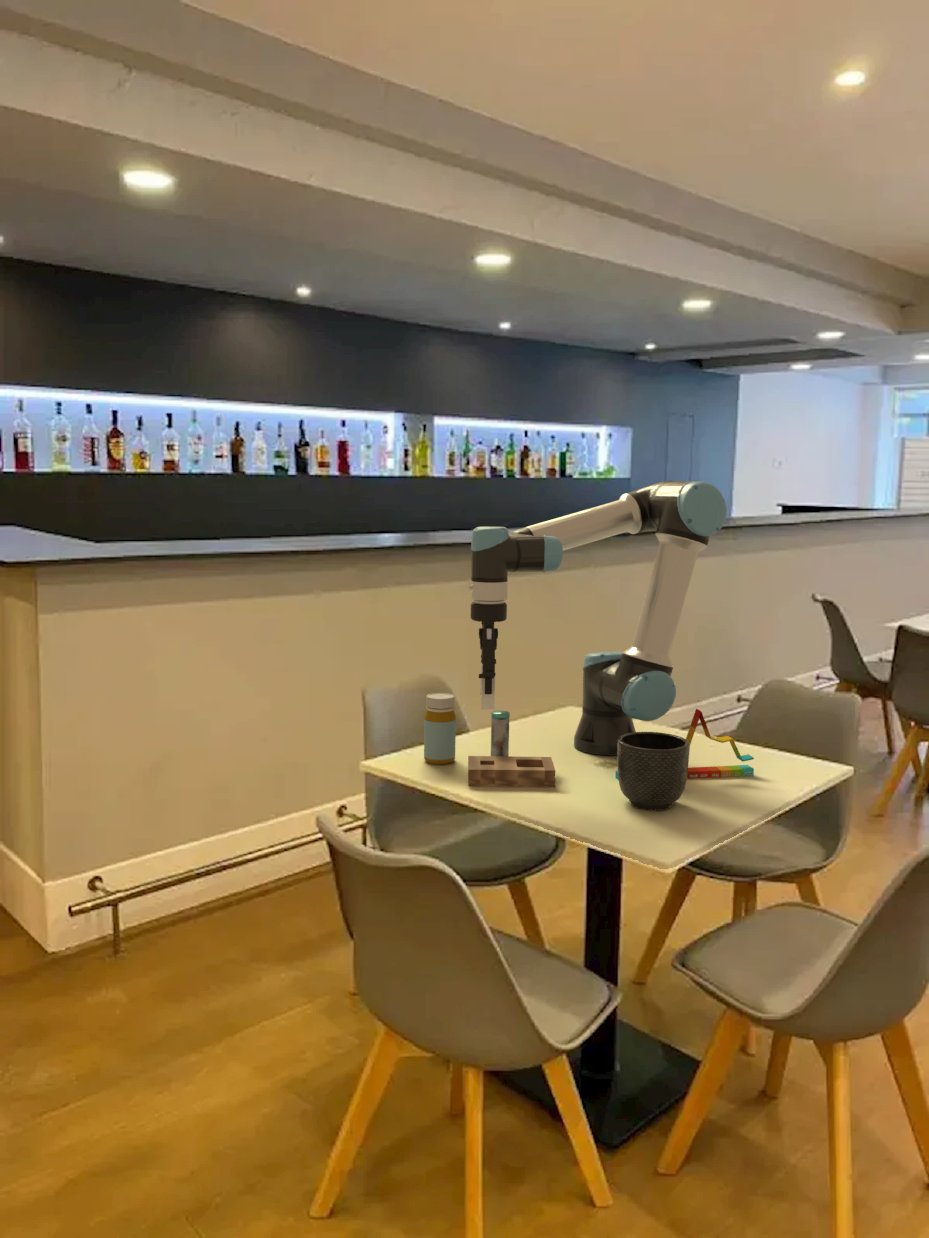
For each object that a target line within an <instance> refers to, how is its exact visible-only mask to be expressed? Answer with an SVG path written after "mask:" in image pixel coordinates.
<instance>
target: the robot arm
mask: <svg viewBox="0 0 929 1238" xmlns="http://www.w3.org/2000/svg"><path fill="white" fill-rule="evenodd" d="M727 512H728V511H727V502H726V500H725V498H724V496H723V494H722V492H721V491H720V490H719V489H718V487H717V486H715V485H714V484H712V483H709V482H705V481H699V480H695V479H694V480H682V481H681V480H678V481H677V480H663V481H660V482H656V483H653V484H650V485H647V486H645V487H642V488H639V489H636V490H635V489H634V490H633V491H630V492H627V493H623V494H621V495H620V496H619V499H618V500H615V501H611V502H608V503H604V504H601V505H598V506H594V507H590V508H586V509H583V510H580V511H577V512H572V513H568V514H566V515H562V516H559V517H556V518H553V519H550V520H549V519H548V520H546V521H545V520H544V521H542V522H538V523H535V524H532V525H528V526H525V527H522V528H518V529H515V530H511V531H509V528H507V527H505V526H477V527H475V528H474V529H473V530H472V534H471V536H472V537H471V545H470V551H471V552H470V554H471V555H470V556H471V557H470V558H471V559H470V563H471V567H470V568H471V572H470V574H471V578H470V580H471V581H470V583H471V584H469V585H468V586H467V588H468V590H470V598H471V600H473V601H471V603H470V619H471V620H472V621H473V622H478V623H479V622H481V627H479V628H478V639H479V649H480V650H481V655H480V658H481V659H480V663H481V664H480V673H479V674H478V679H480V695H481V698H480V701H481V703H480V705H481V706H480V710H489V711H490V710H491V711H495V709H496V708H495V704H496V703H495V702H496V701H495V700H496V698H495V697H496V691H495V690H496V674H497V673H496V664H497V659H496V650H497V648H498V639H499V630H498V627H495V623H497V622H498V623H501V622H505V621H506V620H507V615H508V604H507V602H505V601H506V600H508V582H509V581H508V575H509V574H508V573H521V572H522V573H526V572H527V573H530V572H532V573H533V572H534V573H536V572H538V573H539V572H540V573H545V572H555V571H557V570H558V569H559V568H560V567H561V565H562V562H563V559H564V558H563V557H564V556H563V555H564V552H565V551H567V550H569V549H573V548H578V547H580V546H584V545H587V544H590V543H593V542H594V543H595V542H596V541H600V540H603V539H607V538H609V537H613V536H617V535H621V534H624V533H629V534H631V535H635V534H636V535H637V534H639V533H644V532H652V531H653V532H655V537H656V539H657V540H658V542H659V546H658V550H657V553H656V556H655V560H654V564H653V568H652V570H651V571H652V572H651V575H650V578H649V581H648V586H647V589H646V592H645V596H644V599H643V600H644V601H643V604H642V608H641V611H640V614H639V618H638V622H637V626H636V629H635V632H634V636H633V640H632V642H631V646H630V647H628V648H627V649H626V650H623V651H598V652H590V653H588V654H587V653H586V655H585V656H584V659H583V667H582V671H583V676H582V679H583V680H582V709H581V710H582V713H581V714H582V715H581V717H580V719H579V721H578V725H577V728H576V731H575V734H574V737H573V738H574V739H573V746H574V748H575V749H577V750H578V751H582V752H584V753H587V754H593V755H599V756H600V755H601V756H617V741H618V738H619V737H620V736H621V735H624V734H627V733H633V732H637V731H636V728H635V725H634V721H633V719H635V720H639V721H642V722H653V721H655V720H658V719H660V718H662V717H663V716H665V715H666V714H667V713H669V711H670V710H671V709H672V707H673V705H674V703H675V701H676V697H677V687H676V685H675V681H674V680H673V678H672V674H673V669H674V664H673V663H672V660H671V659H670V655H671V651H672V647H673V644H674V641H675V636H676V633H677V630H678V626H679V623H680V618H681V615H682V612H683V608H684V604H685V601H686V597H687V593H688V590H689V587H690V584H691V583H690V582H691V579H692V576H693V573H694V568H695V564H696V561H697V558H698V554H699V553H700V552H702V551H704V550H705V549H707V547H708V545H709V541H710V538H711V536H713V535H714V534H716V533H717V532H718V531H720V530H721V529H722V527H723V526H724V524H725V521H726V519H727Z"/></svg>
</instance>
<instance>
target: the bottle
mask: <svg viewBox="0 0 929 1238" xmlns="http://www.w3.org/2000/svg"><path fill="white" fill-rule="evenodd" d="M425 699H426V700H425V701H426V711H425V714H424V715H423V716H424V725H423V726H424V727H423V728H424V729H423V730H424V731H423V733H424V734H423V735H424V737H423V759H424V760H425V762H426V763H428V764H431V765H435V766H436V765H438V766H445V765H449V764H452V763H453V762H454V761H455V760H456V735H457V734H456V733H457V731H456V726H457V725H456V723H457V722H456V721H457V720H456V714H455V707H454V706H455V696H454V694H453V693H452V694H451V693H447V692H434V693H428V694H426V698H425Z"/></svg>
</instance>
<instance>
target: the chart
mask: <svg viewBox="0 0 929 1238" xmlns="http://www.w3.org/2000/svg"><path fill="white" fill-rule="evenodd" d="M699 720H700V724H701V726H702V729H703V732H704V734H705V737H706V738H708V739H710V740H712V741H714V742H718V743H721V744H722V743H727V742H729V744H730V745H731V748H732V751H733V752H734V755H735V758H736V759H737V760H739V761H741V762H748V761H752V760H754V759H755V758H754V757H753V756H752V755H750V754H749V753H748V754H743V755H741V754H740V751H739V749H738V747H737V745H736V743H735V741H734V738H733V737H730V736H729V735H724V736H719V737H714V736H711V733H710V731H709V729H708V725H707V722H706V720H705V718H704V715H703V712H702V711H701V710H700V709H698V708H696V709H695V711H694V715H693V716H692V719H691V723H690V725H689V728H688V732H687V735H686V737H685V739H686V740H687V741H688V742H689V743H690V745H691V744H692V741H693V738H694V735H695V732H696V729H697V726H698V724H699V723H698V722H699ZM615 759H616V761H617V757H616V758H615ZM754 773H755V769H754V767H752V766H750V765H749V764H739V765H738V764H737V765H734V764H733V765H720V766H719V765H717V766H715V765H714V766H694V767H692V766H691V767H688V772H687V780H692V779H694V780H695V779H696V780H698V779H716V778H717V779H718V778H739V777H754V775H755V774H754ZM615 779H616V780H617V781H618V782H619V779H618V770H615Z"/></svg>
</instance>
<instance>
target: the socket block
mask: <svg viewBox="0 0 929 1238" xmlns="http://www.w3.org/2000/svg"><path fill="white" fill-rule="evenodd" d="M555 768H556V767H555V764H554V761H553V758H552V756H491V755H468V759H467V779H468V781H467V782H468V784H467V786H468V787H527V788H528V787H529V788H530V787H531V788H533V787H535V788H556V769H555Z"/></svg>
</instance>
